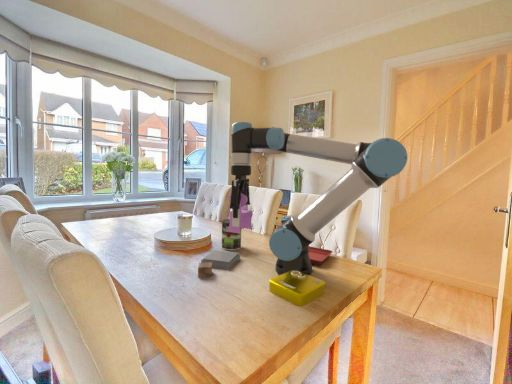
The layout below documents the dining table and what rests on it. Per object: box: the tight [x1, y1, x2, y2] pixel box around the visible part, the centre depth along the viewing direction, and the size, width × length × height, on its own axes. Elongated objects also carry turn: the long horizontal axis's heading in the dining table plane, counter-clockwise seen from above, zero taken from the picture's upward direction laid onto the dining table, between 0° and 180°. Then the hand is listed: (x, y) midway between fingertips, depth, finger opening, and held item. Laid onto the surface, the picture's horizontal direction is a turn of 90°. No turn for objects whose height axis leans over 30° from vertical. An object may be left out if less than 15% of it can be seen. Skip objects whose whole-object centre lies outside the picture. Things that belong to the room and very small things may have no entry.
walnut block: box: [197, 262, 213, 278], centre depth 106 cm, size 5×5×4 cm
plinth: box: [200, 249, 241, 270], centre depth 119 cm, size 13×13×3 cm
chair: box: [227, 193, 254, 235], centre depth 102 cm, size 8×9×15 cm
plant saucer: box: [309, 245, 333, 267], centre depth 128 cm, size 18×18×3 cm
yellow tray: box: [268, 270, 326, 307], centre depth 94 cm, size 15×15×5 cm
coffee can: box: [221, 218, 242, 252], centre depth 139 cm, size 10×10×14 cm
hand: (240, 223), depth 103 cm, fingers closed on chair, 9 cm apart
